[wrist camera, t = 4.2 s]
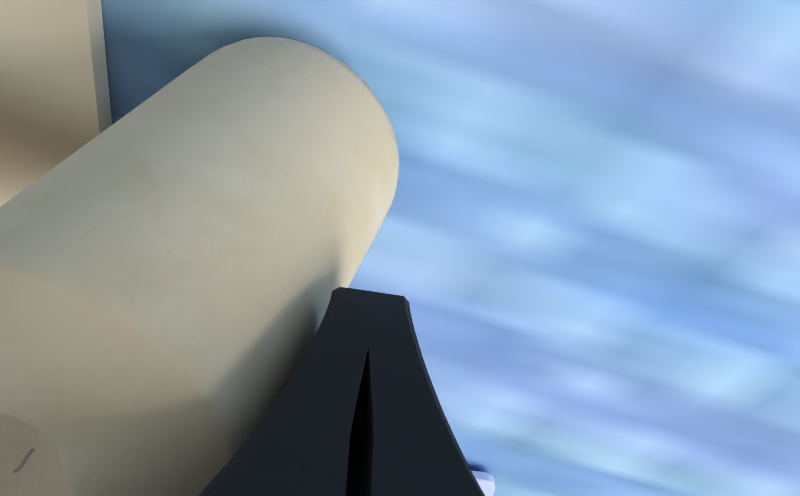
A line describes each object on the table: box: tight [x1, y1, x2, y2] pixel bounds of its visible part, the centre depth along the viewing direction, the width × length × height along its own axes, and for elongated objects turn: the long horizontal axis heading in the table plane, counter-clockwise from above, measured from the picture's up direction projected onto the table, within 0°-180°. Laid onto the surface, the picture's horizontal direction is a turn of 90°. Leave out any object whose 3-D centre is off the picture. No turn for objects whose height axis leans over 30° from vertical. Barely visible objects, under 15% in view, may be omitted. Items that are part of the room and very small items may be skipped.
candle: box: [0, 37, 399, 496], centre depth 13 cm, size 6×6×10 cm
